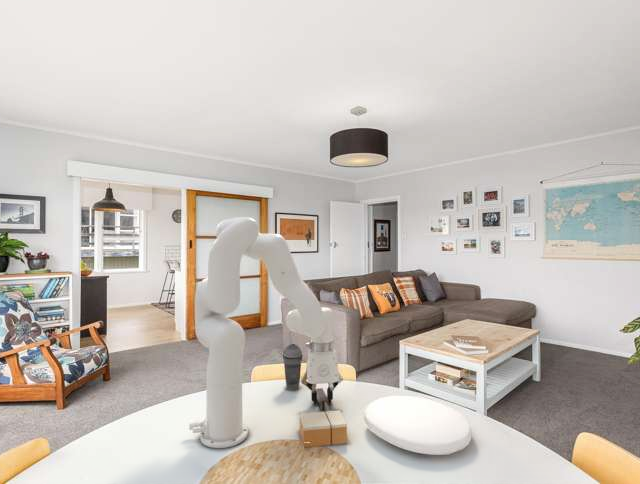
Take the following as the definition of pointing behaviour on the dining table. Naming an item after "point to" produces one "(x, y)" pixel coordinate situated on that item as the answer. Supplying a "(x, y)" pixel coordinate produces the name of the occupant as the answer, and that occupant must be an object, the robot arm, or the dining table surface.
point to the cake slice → (337, 427)
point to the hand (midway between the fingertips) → (322, 401)
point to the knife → (322, 399)
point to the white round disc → (418, 425)
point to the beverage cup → (292, 365)
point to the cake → (315, 429)
